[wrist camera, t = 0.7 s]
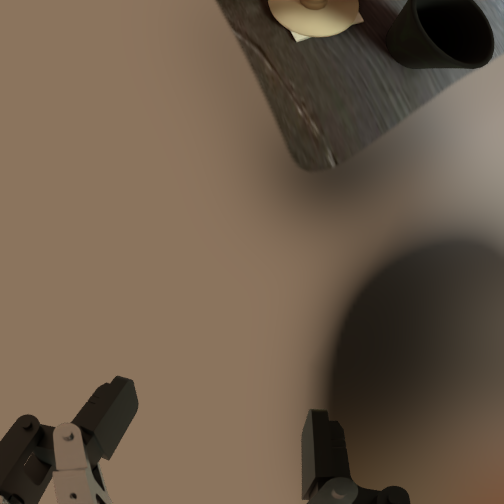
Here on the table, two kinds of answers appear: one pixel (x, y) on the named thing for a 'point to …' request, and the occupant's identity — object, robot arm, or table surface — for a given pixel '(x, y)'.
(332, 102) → the table surface
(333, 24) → the lid
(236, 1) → the table surface
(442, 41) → the cup
